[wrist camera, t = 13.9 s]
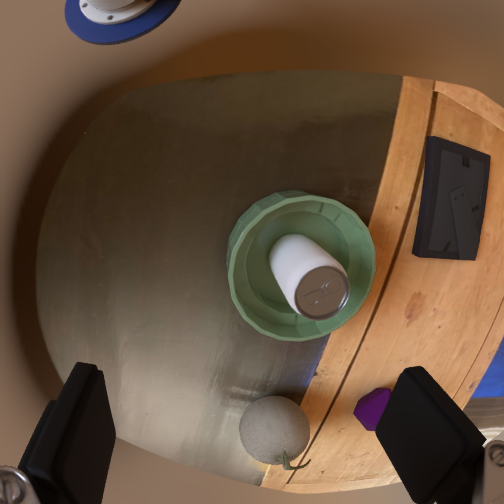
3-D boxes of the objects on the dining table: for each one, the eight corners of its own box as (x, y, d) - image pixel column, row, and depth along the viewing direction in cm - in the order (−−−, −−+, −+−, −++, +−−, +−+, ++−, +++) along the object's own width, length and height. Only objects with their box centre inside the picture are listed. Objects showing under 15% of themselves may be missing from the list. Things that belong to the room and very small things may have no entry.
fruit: (275, 434, 50) (292, 500, 36) (223, 412, 47) (230, 484, 33) (316, 399, 49) (344, 464, 35) (264, 372, 46) (283, 445, 32)
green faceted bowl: (215, 201, 38) (216, 209, 32) (347, 182, 39) (372, 187, 33) (237, 325, 43) (242, 353, 36) (353, 301, 44) (374, 323, 38)
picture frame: (468, 257, 45) (483, 155, 41) (476, 261, 43) (492, 155, 38) (411, 253, 44) (426, 135, 39) (419, 258, 41) (436, 135, 37)
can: (324, 264, 42) (363, 302, 30) (282, 289, 42) (307, 336, 30) (303, 222, 40) (338, 248, 28) (258, 249, 40) (277, 285, 28)
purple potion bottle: (381, 377, 50) (431, 446, 32) (393, 397, 52) (438, 461, 35) (346, 401, 50) (386, 476, 33) (361, 419, 52) (398, 488, 35)
